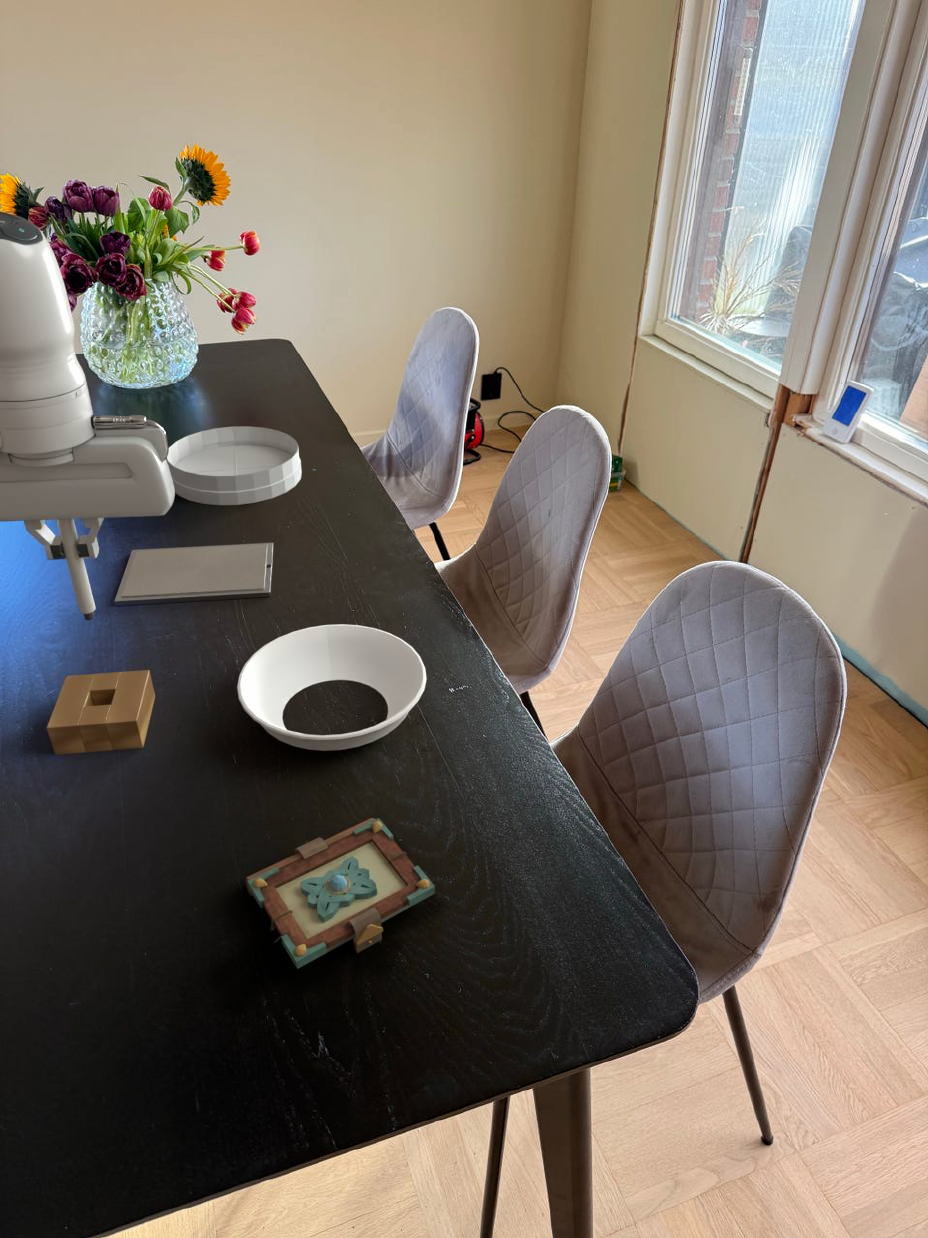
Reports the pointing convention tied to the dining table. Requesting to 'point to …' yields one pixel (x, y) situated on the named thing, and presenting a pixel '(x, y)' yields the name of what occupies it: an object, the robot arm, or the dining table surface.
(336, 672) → the white flared ring
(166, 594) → the tablet
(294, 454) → the dish
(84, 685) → the holder
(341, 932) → the decorative book
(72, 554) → the stylus
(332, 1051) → the dining table surface
